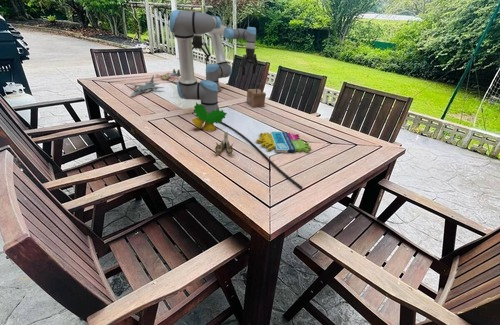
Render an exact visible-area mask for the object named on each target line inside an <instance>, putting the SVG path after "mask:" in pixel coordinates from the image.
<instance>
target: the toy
mask: <svg viewBox="0 0 500 325" xmlns="http://www.w3.org/2000/svg"><path fill="white" fill-rule="evenodd" d="M180 76H181V71H180V69H178V70H177V72H176V69H175V68H173V70H172V73H171V72H166V73H163V74H162V75H160V74H157V73H156V74H155V78H158V77H159V78H162V79H161V80H164V81H167V80H168V79H173V80H174V79H176V80H178V81H179V79H180V78H179V77H180ZM166 79H167V80H166Z"/></svg>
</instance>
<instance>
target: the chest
mask: <svg viewBox="0 0 500 325" xmlns="http://www.w3.org/2000/svg"><path fill="white" fill-rule="evenodd" d="M246 103H247V104H248V105H249V106H251V107H252V108H264V107H265V103H266V95H257V96H254V95H253V94H251V93H250V92H248V91H247V90H246Z"/></svg>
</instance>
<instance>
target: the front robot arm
mask: <svg viewBox="0 0 500 325" xmlns="http://www.w3.org/2000/svg"><path fill="white" fill-rule="evenodd" d="M212 16H213V15H210V14H208V13H204V12H201V11H196V10H195V11H194V10H183V9H174V10H172V11H171V13H170V16H169V32H170V33H172V34H173V37H174V38H175V39H176V43H177V52H178V61H179V70H180V77H179V78H178V79H179V80H178V81H177V83H176V91H177V94H178V97H179V98H180V99H182V100H194V101H200V104H201V106H204V109H206V112H208V113H211V112H212V110H214V111H216V110H217V109H219V111H221V110H220V108H219V102H218V96H219V94H218V93H219V92H218V86H217V84H216V83H215V82H213V81H209V80H206V79H201V80H200V81H198V79H197V78H196V77H195V68H194V53H193V50H194V49H196V50H201V51H202V52H203V53H204V55H205V67H206V66H207V65H208V62H209V57H211V56H212V54H211V52H210V50H209V48H208V44H207V42H203V35H204V34H209V33H208V32H210V31H212V30H213V29H220V25H221V21H222V19H221V17H220V16H218V17H212ZM220 19H221V20H220ZM203 46H204V47H203ZM208 113H207V115H208ZM218 123H220V124H222V125H223V126H225V127H227V128H229V129H230V130H232V131H234V132H235V133H237V134H238V135H240V136H241V138H243V139H245V140H246V142H248V143H249V144H250V145H252V147H254V149H256V151H258V152H259V154H260V155H262V156H263V157H264V158H265V159H266V161H268V162H269V163H270V164H271V165H272V166H273V168H275V169H276V170H277V171H278V172H280V174H282V176H284V177H285V178H287V179H288V180H289V181H290V182H292V183H293V184H294V185H296V186H297V187H298V188H299V189H300V190H301V189H303V186H302V185H301V184H299V183H298V182H297V181H295V180H294V179H293V178H291V177H290V176H289V175H288V174H286V172H284V171H283V170H282V169H280V167H279V166H277V165H276V164H275V163H274V162H273V161H272V160H271V159H270V158H269V157H267V155H266V154H265V153H264V152H263V151H262V150H261V149H260V148H259V147H258V146H257V145H256V144H254V143H253V141H251V140H250V139H248V138H247V136H245V135H244V134H243V133H241V132H239V131H238V130H237V129H235V128H233V127H232V126H230V125H229V124H227V123H225V122H223V121H222V122H221V121H219V122H218Z"/></svg>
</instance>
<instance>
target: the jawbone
mask: <svg viewBox="0 0 500 325" xmlns="http://www.w3.org/2000/svg"><path fill="white" fill-rule="evenodd" d="M223 135H224V136H223V140H222V139H221V142H220V144H218V142H215V144H216V146H215V148H214V149H215V152H214V154H215V155H217V156H218V155H220V153H221V152H223V151H224V150H226V152H227V153H228V155H229V156H233V155H234V154H233V153H234V148H233V144H234V143H230V140H228V139H229V138H228V137H229V136H228V135H229V133H228V131H226V132H224V134H223Z"/></svg>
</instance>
